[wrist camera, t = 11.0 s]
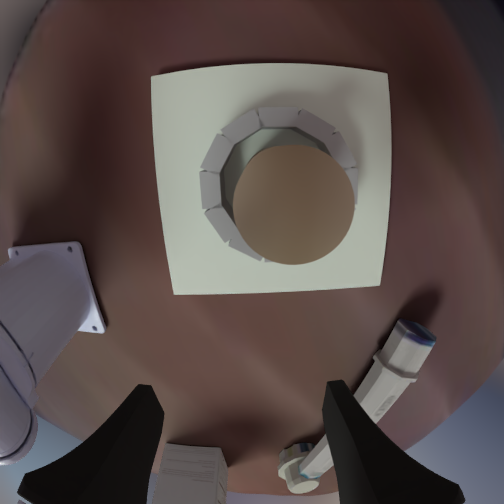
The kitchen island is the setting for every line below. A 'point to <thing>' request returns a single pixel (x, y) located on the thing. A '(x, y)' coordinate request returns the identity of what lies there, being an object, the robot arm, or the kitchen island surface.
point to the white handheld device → (364, 400)
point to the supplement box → (191, 476)
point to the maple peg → (293, 204)
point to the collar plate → (251, 142)
